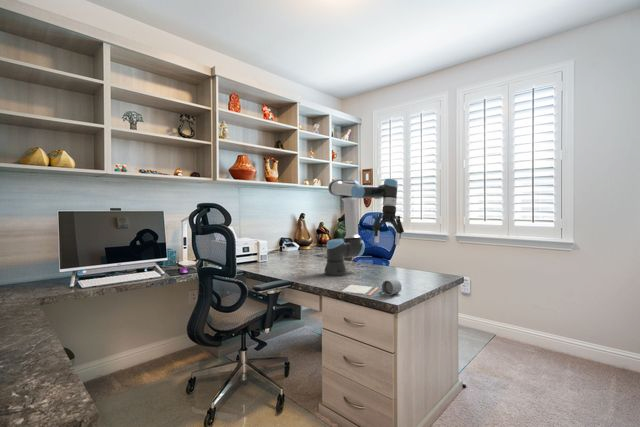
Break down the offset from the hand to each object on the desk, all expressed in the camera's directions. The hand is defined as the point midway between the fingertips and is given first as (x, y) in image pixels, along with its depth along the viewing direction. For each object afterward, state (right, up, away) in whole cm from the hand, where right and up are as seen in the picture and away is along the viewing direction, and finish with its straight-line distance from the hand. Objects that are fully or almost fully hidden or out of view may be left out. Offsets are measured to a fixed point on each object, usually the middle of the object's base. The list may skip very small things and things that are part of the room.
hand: (387, 243), depth 183 cm
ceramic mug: (-1, -26, -10) cm, 28 cm away
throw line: (-9, -25, -6) cm, 27 cm away
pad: (-17, -25, -3) cm, 30 cm away
